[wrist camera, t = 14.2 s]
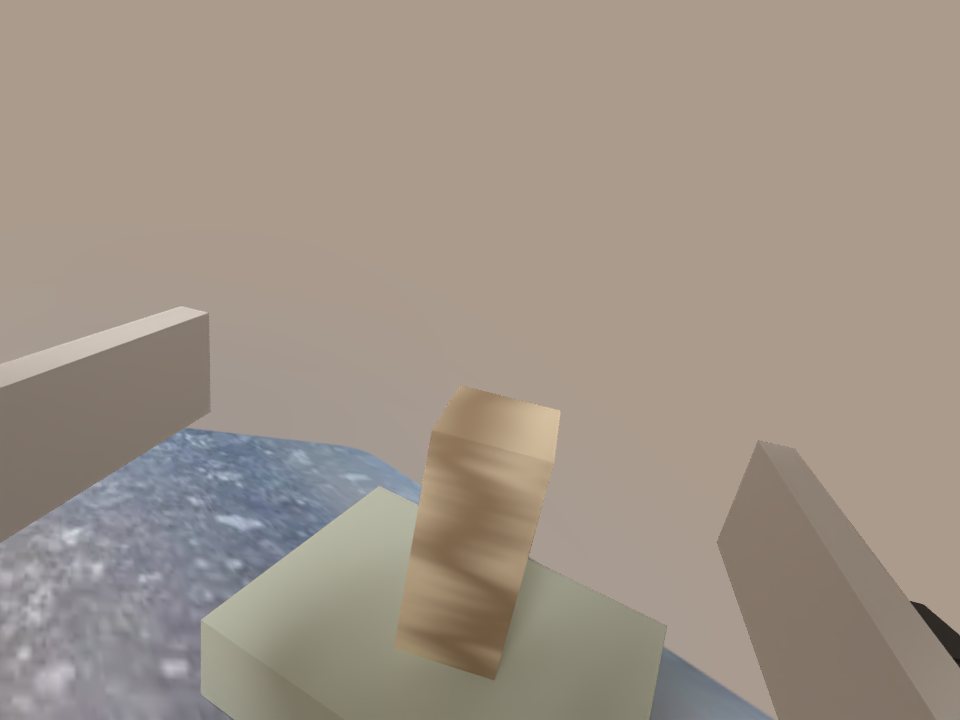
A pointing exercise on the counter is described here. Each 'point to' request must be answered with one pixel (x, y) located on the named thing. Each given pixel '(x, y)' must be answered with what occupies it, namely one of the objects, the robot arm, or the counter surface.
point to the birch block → (475, 528)
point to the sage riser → (400, 675)
